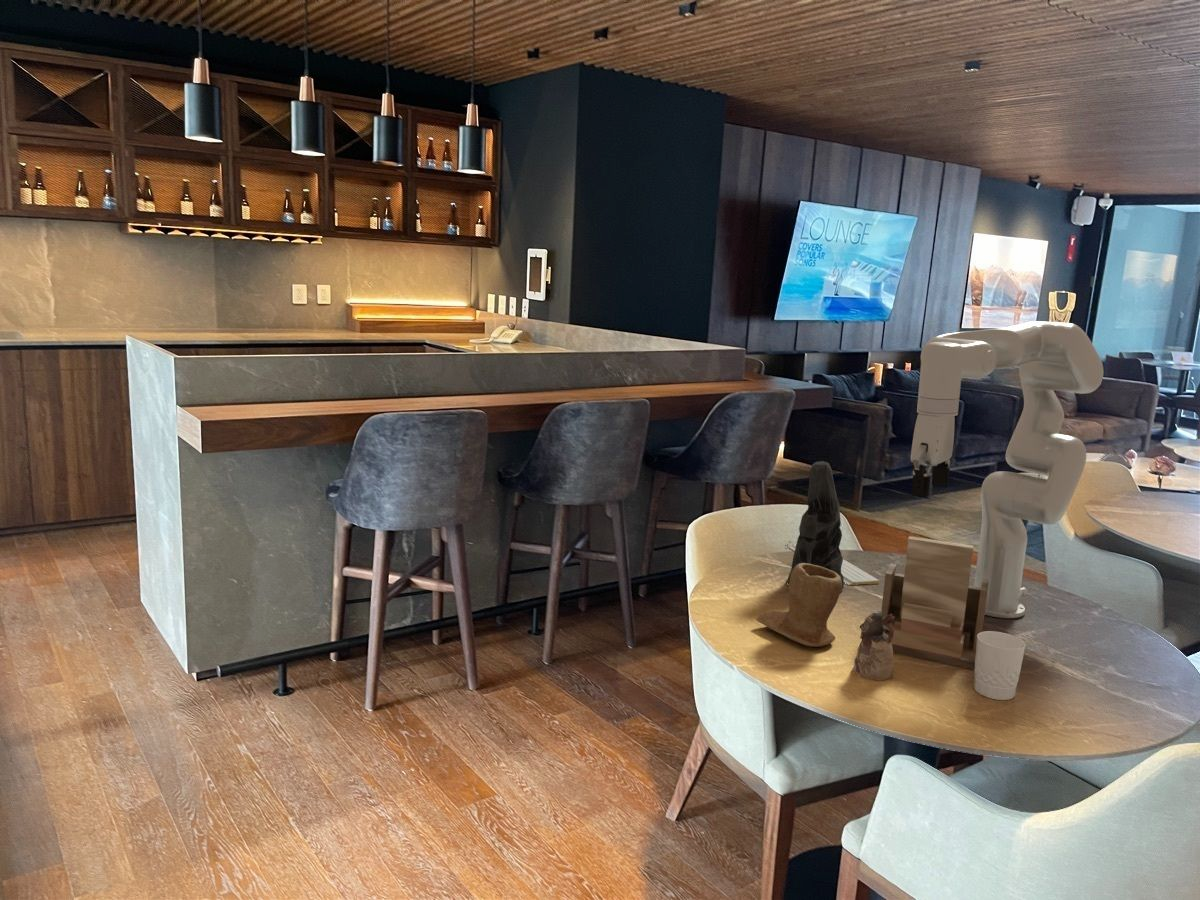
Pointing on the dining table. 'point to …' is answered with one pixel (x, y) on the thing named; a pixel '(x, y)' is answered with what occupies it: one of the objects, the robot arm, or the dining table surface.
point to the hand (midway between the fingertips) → (930, 490)
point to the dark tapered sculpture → (820, 524)
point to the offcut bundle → (929, 631)
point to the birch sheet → (937, 575)
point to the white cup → (998, 664)
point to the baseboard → (852, 573)
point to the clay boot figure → (807, 606)
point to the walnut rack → (971, 621)
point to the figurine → (875, 648)
